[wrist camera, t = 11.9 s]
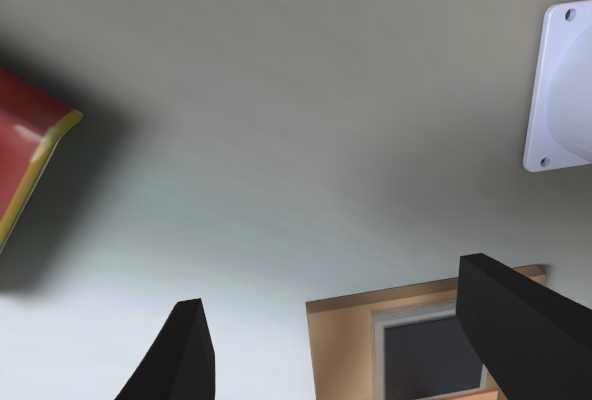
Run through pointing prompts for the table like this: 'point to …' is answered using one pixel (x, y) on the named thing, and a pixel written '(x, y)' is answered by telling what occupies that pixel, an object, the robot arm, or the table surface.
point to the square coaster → (476, 396)
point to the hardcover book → (26, 143)
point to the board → (368, 335)
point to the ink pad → (422, 353)
